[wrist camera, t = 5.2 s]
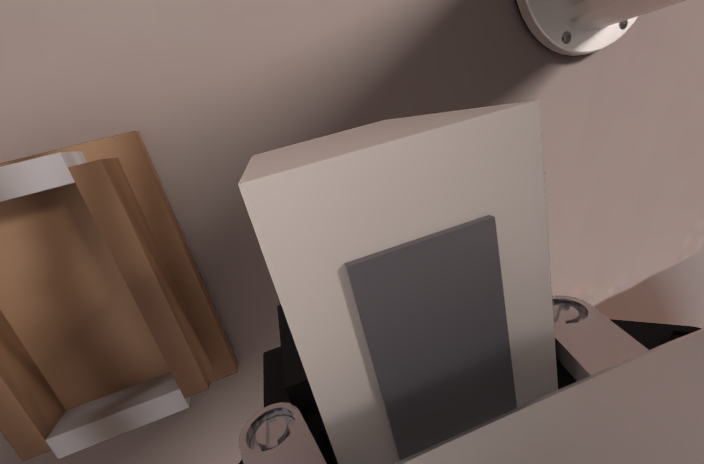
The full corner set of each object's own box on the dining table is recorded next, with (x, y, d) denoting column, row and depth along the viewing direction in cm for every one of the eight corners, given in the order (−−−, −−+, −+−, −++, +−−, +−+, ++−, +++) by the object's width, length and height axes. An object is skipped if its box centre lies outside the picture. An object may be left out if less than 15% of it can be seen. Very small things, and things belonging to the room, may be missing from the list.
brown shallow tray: (138, 131, 21) (117, 129, 18) (238, 364, 27) (235, 394, 24) (-129, 196, 19) (-210, 207, 16) (41, 439, 24) (8, 484, 21)
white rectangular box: (383, 120, 12) (547, 99, 5) (439, 393, 15) (575, 588, 9) (252, 155, 11) (237, 185, 4) (345, 433, 15) (414, 678, 8)
